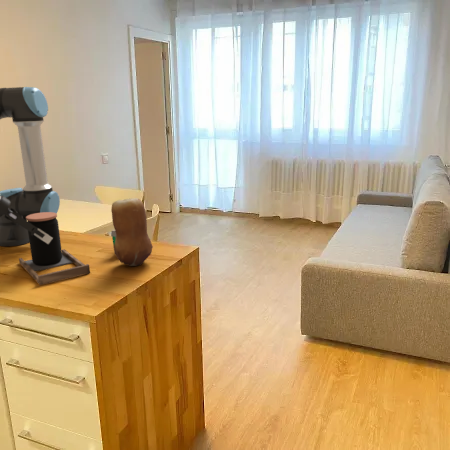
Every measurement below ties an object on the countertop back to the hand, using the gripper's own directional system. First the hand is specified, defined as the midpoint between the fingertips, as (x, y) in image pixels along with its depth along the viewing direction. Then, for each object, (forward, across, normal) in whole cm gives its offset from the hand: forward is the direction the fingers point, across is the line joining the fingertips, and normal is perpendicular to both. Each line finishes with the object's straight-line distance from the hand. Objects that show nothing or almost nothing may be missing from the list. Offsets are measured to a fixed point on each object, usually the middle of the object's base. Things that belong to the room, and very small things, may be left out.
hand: (44, 236), depth 165 cm
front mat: (+7, 0, -7) cm, 10 cm away
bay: (+7, +7, -7) cm, 12 cm away
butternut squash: (+24, +24, +10) cm, 35 cm away
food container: (+28, +7, +13) cm, 32 cm away
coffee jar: (+7, 0, -7) cm, 10 cm away
